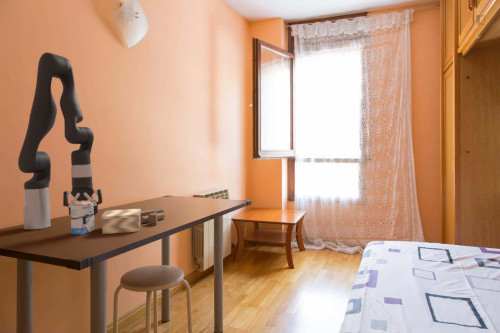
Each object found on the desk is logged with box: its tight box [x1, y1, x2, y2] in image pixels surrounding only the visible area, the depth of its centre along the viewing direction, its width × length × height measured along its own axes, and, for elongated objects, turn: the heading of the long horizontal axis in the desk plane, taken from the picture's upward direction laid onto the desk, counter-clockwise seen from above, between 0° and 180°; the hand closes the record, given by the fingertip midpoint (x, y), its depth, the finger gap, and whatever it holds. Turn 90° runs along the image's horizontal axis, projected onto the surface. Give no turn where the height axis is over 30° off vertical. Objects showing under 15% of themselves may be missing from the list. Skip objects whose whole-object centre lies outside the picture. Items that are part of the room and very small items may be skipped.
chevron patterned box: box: [100, 208, 142, 235], centre depth 145 cm, size 15×15×7 cm
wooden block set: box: [140, 207, 165, 226], centre depth 162 cm, size 17×6×18 cm
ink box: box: [70, 201, 96, 236], centre depth 140 cm, size 8×5×12 cm, turn 168°
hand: (83, 215), depth 140 cm, fingers open, 8 cm apart
